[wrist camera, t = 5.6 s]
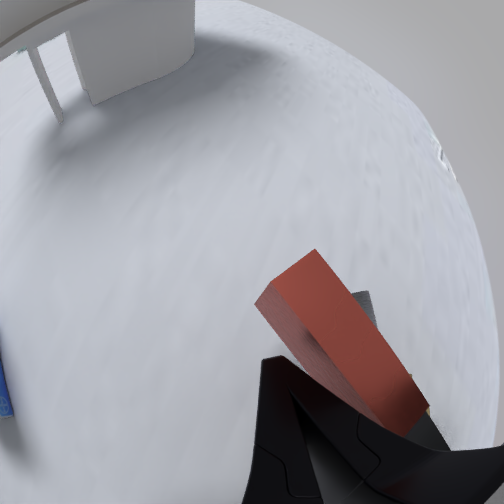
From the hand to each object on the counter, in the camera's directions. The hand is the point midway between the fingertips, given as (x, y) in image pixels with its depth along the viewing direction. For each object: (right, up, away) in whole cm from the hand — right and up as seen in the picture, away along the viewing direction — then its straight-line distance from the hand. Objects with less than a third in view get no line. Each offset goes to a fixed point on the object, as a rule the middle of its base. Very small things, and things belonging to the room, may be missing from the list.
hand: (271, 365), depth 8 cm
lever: (+4, -3, 0) cm, 5 cm away
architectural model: (-14, +24, +15) cm, 32 cm away
